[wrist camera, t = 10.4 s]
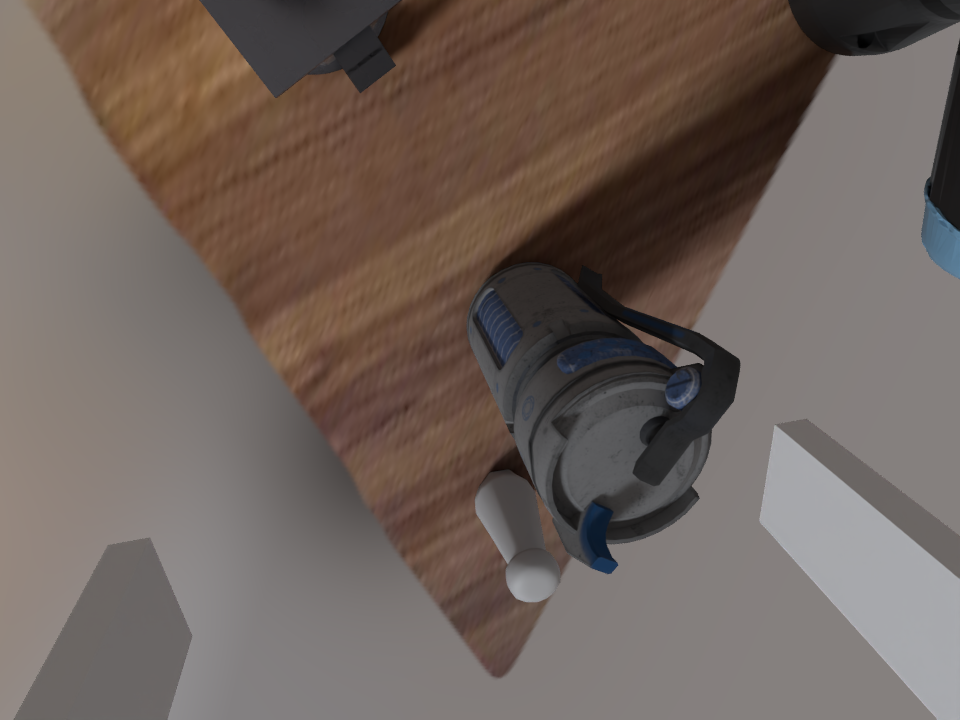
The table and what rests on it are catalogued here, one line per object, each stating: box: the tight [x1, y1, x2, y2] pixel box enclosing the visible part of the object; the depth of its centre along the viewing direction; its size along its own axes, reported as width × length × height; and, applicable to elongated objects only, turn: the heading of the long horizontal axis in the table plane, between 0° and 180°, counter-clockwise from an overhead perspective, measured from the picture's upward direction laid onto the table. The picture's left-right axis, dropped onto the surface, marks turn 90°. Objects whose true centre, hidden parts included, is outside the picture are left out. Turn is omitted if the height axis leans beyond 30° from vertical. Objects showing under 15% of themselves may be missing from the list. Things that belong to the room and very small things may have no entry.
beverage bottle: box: [467, 262, 740, 574], centre depth 39 cm, size 10×13×25 cm
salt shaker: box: [475, 469, 560, 602], centre depth 52 cm, size 6×6×13 cm
